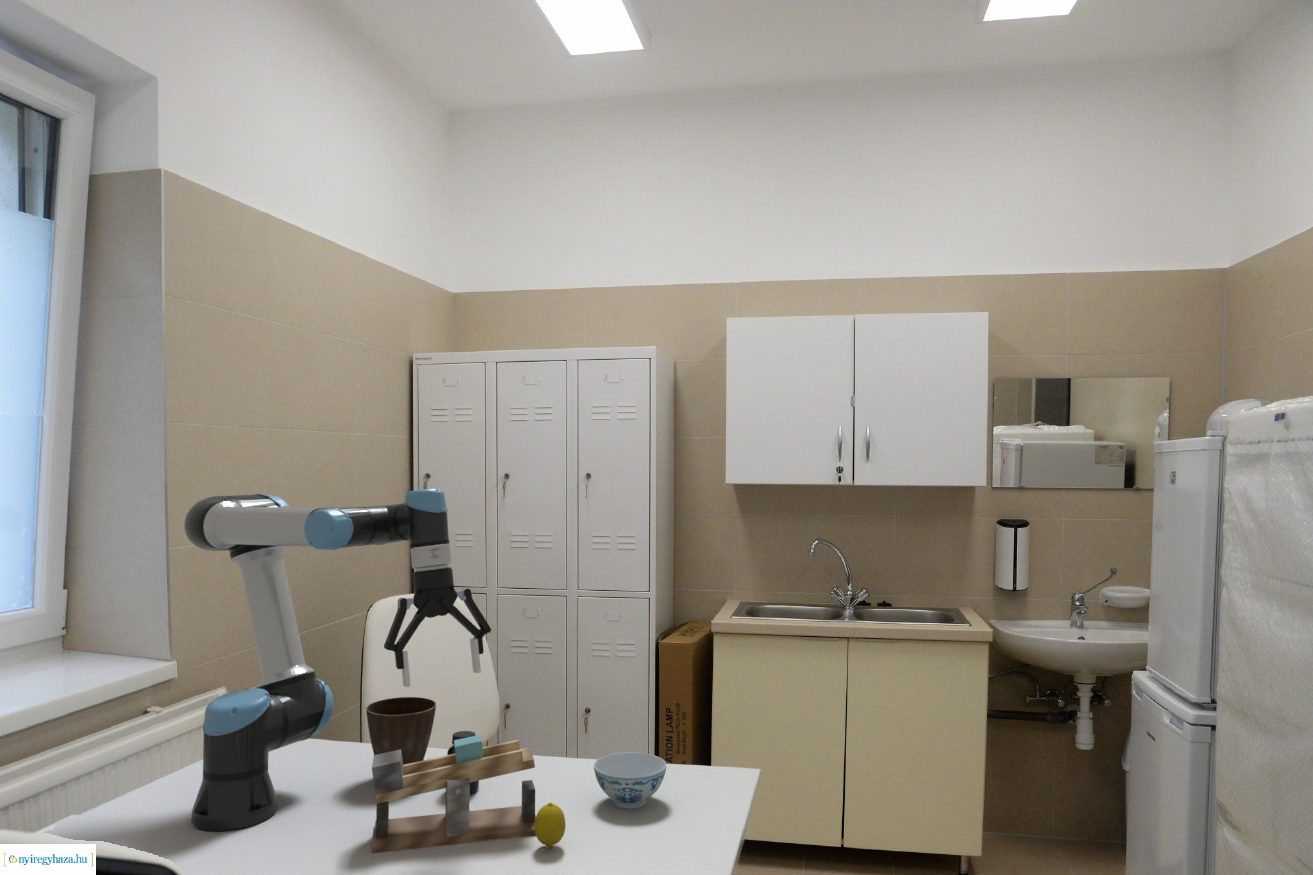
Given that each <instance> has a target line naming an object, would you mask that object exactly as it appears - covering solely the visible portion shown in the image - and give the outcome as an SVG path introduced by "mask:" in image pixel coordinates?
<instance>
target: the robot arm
mask: <svg viewBox="0 0 1313 875" xmlns="http://www.w3.org/2000/svg"><path fill="white" fill-rule="evenodd" d="M446 502H447V501H446V497H445V492H444V491H443V490H442V489H440V488H426V489H424V488H423V489H417V490H410V491H407V493H406V494H405V501H404V502H402V503H398V504H397V503H396V504H395V503H394V504H388V505H371V506H357V507H353V506H352V507H296V506H294V507H291V506H290V505H289V503H288V502H286V501H285V500H284V499H282V498H280V497H279V496H278V495H277V496H276V495H272V494H262V493H255V494H244V495H243V494H240V495H216V496H215V495H214V496H209V497H205V498H203V499H201V500H199V501H198V502H196V503H195V504H194V505H192V507H190V509H189V510H188V511H187V513H186V516H185V518H184V527H183V528H184V532H185V536H187V539H188V540H189V541H190V542H191V543H192V544H193V545H194V546H195V547H197V548H199V549H201V550H205V551H209V552H210V551H212V552H220V551H222V552H223V551H229V556H230V557H229V558H230V561H231V562H232V563H233V564H235V565H237V566H239V567H240V572H241V577H242V581H243V586H244V590H245V596H246V600H247V606H248V610H249V616H250V621H251V624H252V630H253V635H254V639H255V646H256V650H257V654H258V659H259V664H260V670H261V674H262V677H261V679H260V681H259V682H258V683H257V685H256V688H255V687H253V688H251V687H250V688H244V689H241V690H234V691H230V692H227V693H224V694H222V695H220V696H217V697H216V698H214V699H213V700H211V701H210V702H209V703H208V705H207V706H206V708H205V710H204V717H203V718H204V719H203V720H204V721H203V725H202V731H203V746H202V747H203V750H202V751H203V753H202V760H203V761H202V781H201V784H200V787H199V789H198V793H197V796H196V799H195V801H194V804H193V806H192V810H191V825H192V824H193V825H194V826H195V828H196V827H197V828H196V829H198V828H199V830H202V829H203V831H210V832H213V831H214V832H221V831H223V832H224V831H233V830H238V828H239V829H242V828H243V827H244V828H247V827H251V826H255V825H257V824H259V822H260V823H262V822H264V821H266V820H268V819H270V818H272V816H274V815H275V814H276V813H277V810H278V797H277V794H276V791H275V787H274V785H273V782H272V778H271V776H270V774H269V752H272V751H275V750H278V749H280V748H284V747H286V746H289V745H292V744H296V743H298V742H303V741H306V740H308V739H310V738H311V737H313V736H315V735H317V734H320V733H321V732H323V730H325V729H326V728H327V726H328V724H329V721H330V720H331V718H332V716H333V713H334V712H333V711H334V696H333V692H332V690H331V687H329V685H327V683H326V682H325V681H324V680H322V679H319V678H317V676H316V672H315V669H314V668H312V667H310V666H309V665H307V664H306V662H305V656H304V652H303V647H302V646H303V645H302V641H301V637H300V632H299V628H298V624H297V623H298V622H297V618H296V613H295V610H294V604H293V599H292V596H291V591H290V590H291V589H290V585H289V582H288V576H287V571H286V568H285V567H286V566H285V561H284V556H285V554H286V553H287V552H288V550H289V547H306V548H307V547H310V548H314V549H315V550H321V551H322V550H324V551H325V550H326V551H331V550H333V551H335V550H338V549H345V548H352V547H361V546H362V547H363V546H373V545H374V546H379V545H386V544H391V543H398V542H405V541H409V549H410V557H411V558H410V559H411V560H410V561H411V568H412V569H414V570H415V571H414V572H413V574H412V581H413V582H412V583H413V593H414V594H413V597H412V598H411V597H410V598H405V597H399V598H398V599H397V611H396V613H395V616H394V618H393V621H392V624H391V626H390V629H389V631H388V634H387V637H386V639H385V642H384V645H383V648H384V649H385V650H387V651H392V652H394V658H395V667H396V669H397V670H401V673H402V674H401V675H402V684H403V685H402V686H403V687H405V688H408V687H411V677H410V666H409V653H408V651H407V650H405V648H406V646H407V644H408V643H409V641H410V640H411V638H412V637H413V635H414V634H415V632H416V631H417V630H418V628H419V626H420V625H421V623H422V622H423V621H424V620H425V618H430V619H431V618H436V617H438V616H440V617H441V616H442V617H445V616H447V615H448V614H449V615H450V616H451V617H453V618H454V619H455V620H456V621H457V622H458V623H459V624H460V625H461V626H462V627H463V628H465V629H466V630H467V631H468V632H469V633H470V634H471V635H472V636H473V637H472V638H469V644H470V653H471V663H472V664H471V666H472V672H473V673H476V674H479V673H481V672H482V671H481V660H480V659H481V658H480V655H483V654H484V642H483V638H484V636H486V635H487V634H489V633H491V632H492V627H491V626H490V624H489V623H488V622H487V620H486V618H485V616H484V615H483V613H482V612H481V611H480V609H479V607H478V606H477V604H476V602H475V601H474V599H473V596H472V595H473V594H472V590H471V588H465V587H464V588H462V589H461V590H458V591H456V590H455V585H454V584H455V583H454V573H453V568H452V567H451V566H449V565H451V564H452V552H451V545H450V538H449V537H450V536H449V524H448V522H449V521H448V520H449V519H448V508H447V503H446ZM458 598H459V600H460V601H461V602H462V601H463V603H464V605H465V606H466V607H467V609H468V611H469V613H470V614H471V616H472V618H473V619H474V620H475V622H476V624H477V625H478V627H479V628H478V627H476V625H474V623H472V621H470V620H469V619H468V618H467V617H466V616H465V615H464V614H463V613H462V612H461V611H460V610H459V609H458V608H457V607H456V605H455V602H456V601H457V599H458ZM412 605H413V606H414V607H415V608H416V609H417V611H416V612H415V613H414V615H413V616H412V617H413V618H412V620H411V621H410V622H409V623H408V626H407V627H406V628H405V630H404V631H403V632H402V634H401V636H400V637H399V639H398V636H399V632H400V630H401V628H402V625H403V624H404V623H403V622H404V620H405V617H406V614H407V611H408V610H409V609H410V608H411V606H412ZM397 639H398V640H397ZM273 814H274V815H273ZM256 823H257V824H256ZM193 825H192V826H193ZM194 826H193V827H194ZM232 829H233V830H232Z"/></svg>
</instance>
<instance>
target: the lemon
mask: <svg viewBox="0 0 1313 875" xmlns="http://www.w3.org/2000/svg"><path fill="white" fill-rule="evenodd" d="M565 831H566V818H565V814H564V811H563V810H562V809H561V807H559V806H558V805H557V804H553V802H548V803H547V804H545V805H543V806H541V808H540V809H539V810H538V811H537V814H536V820H535V833H536V835H535V836H536V840H538V842H540V843H541V844H542V845H545V846H546V847H547V848H549V849H550V848H553V846H554V845H556V844H557V845H558V843H559V842H560V841H561V840H563V839H562V838H563V837H564V835H565Z"/></svg>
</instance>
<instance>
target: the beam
mask: <svg viewBox="0 0 1313 875" xmlns="http://www.w3.org/2000/svg"><path fill="white" fill-rule="evenodd" d="M482 748H483V756H484V758H480V759H475V760H471V761H466V762H462V763H457V760H456V753H455V754H450V755H447V754H446V755H441V756H439V757H438V756H436V757H433V758H428V759H424V760H423V761H419V762H414V763H410V764H405V765H403V759H402V752H401V749H400V750H396V751H391V752H387V753H382V754H377V755H374V754H373V758H372V765H371V772H372V780H373V787H374V793H375V794H374V795H375V803H376V805H377V804H379V803H383V802H388V801H389V802H391V801H396V800H400V799H404V798H408V797H409V798H410V797H412V796H417V795H418V796H419V795H422V794H426V793H432V792H434V791H439V790H443V789H446V788H447V780H454V779H466V778H469V779H470V782H474V781H479V782H480V781H483V780H487V779H491V778H496V777H500V776H504V775H508V774H513V773H517V772H522V771H526V770H530V769H531V770H532V769H534V768H536V767H535V766H536V765H535V758H534V756H533V754H532V751H531V748H530V747H529V746H527V747H524V748H521V747H520V742H519V739H515V740H510V741H504V742H501V743H497V744H491V745H488V746H482Z"/></svg>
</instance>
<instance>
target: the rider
mask: <svg viewBox="0 0 1313 875" xmlns="http://www.w3.org/2000/svg"><path fill="white" fill-rule="evenodd" d="M454 745H455V753H456V760H457V763H462V762H466V761H471V760H475V759H480V758H484V756H483V748H482V747H483V742H482V736H481V734H478V735H475V736H472V737H467V738H463V739H458V740H454Z"/></svg>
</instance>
